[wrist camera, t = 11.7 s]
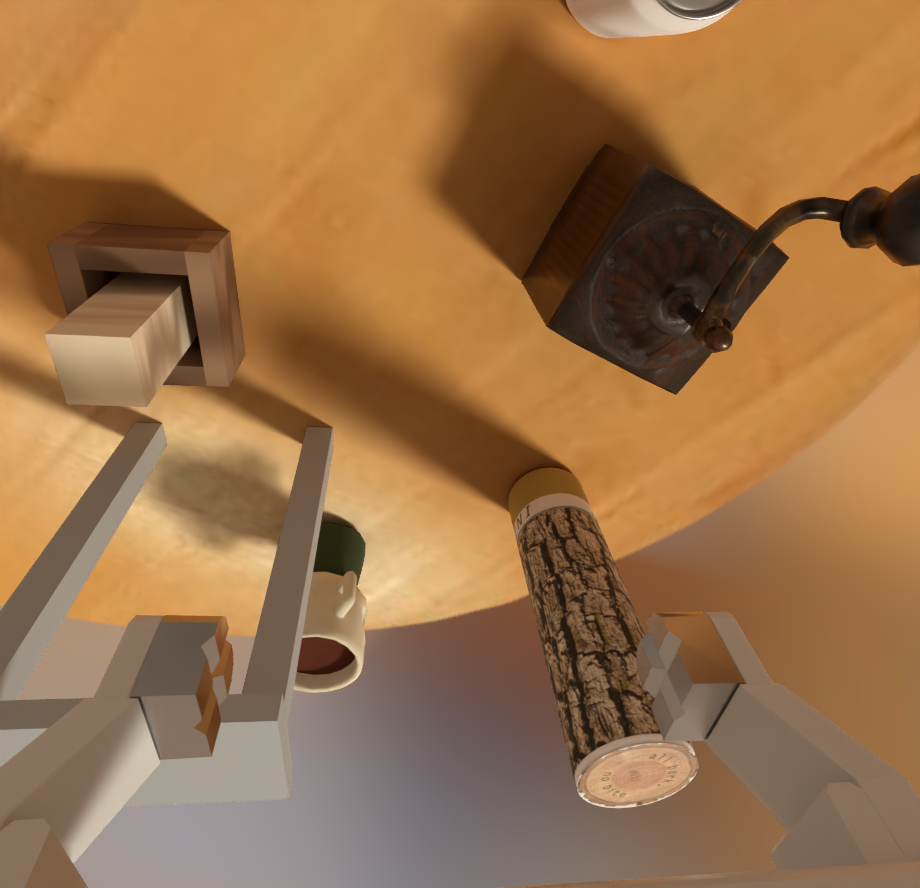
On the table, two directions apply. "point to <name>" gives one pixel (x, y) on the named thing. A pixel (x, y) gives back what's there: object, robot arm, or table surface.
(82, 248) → the socket
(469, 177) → the table surface
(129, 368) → the peg
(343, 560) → the character mug
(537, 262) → the manual coffee grinder
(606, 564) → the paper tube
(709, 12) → the can
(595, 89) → the table surface
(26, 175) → the table surface
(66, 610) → the u-shaped bar frame
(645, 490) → the table surface
